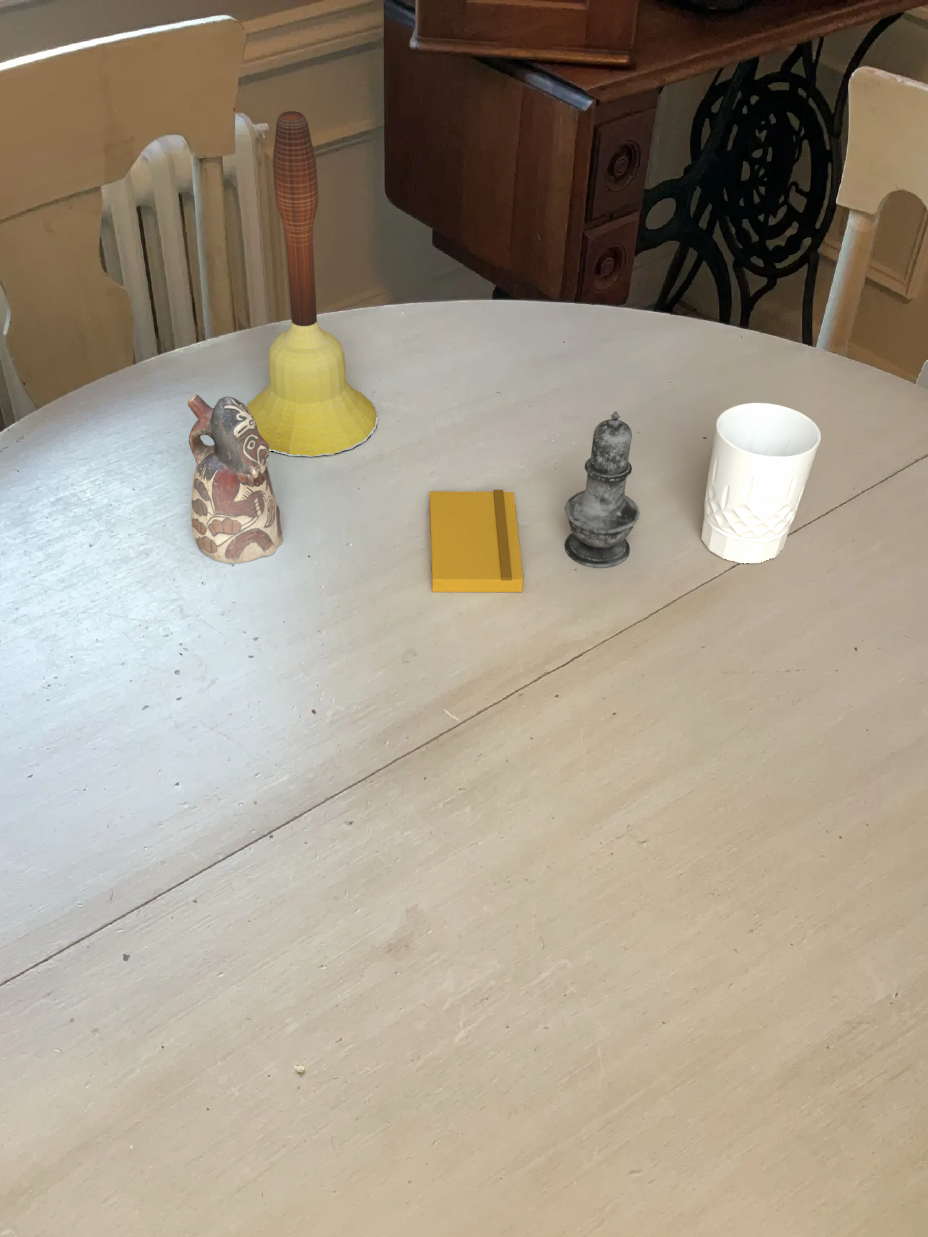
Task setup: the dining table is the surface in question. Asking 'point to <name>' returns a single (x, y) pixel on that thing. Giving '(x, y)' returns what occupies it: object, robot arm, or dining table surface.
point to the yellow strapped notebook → (474, 542)
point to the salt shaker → (603, 500)
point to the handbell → (305, 325)
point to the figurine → (231, 485)
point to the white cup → (756, 479)
